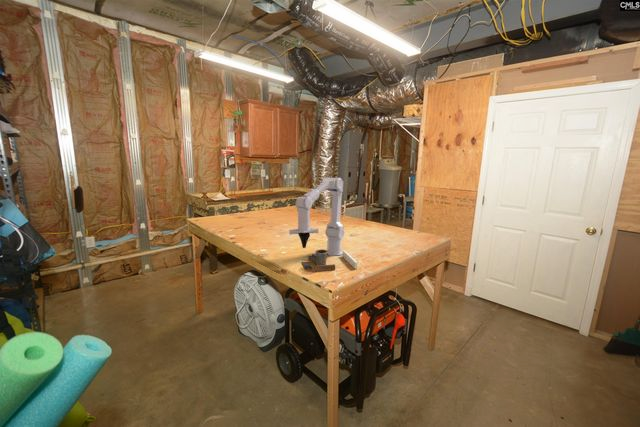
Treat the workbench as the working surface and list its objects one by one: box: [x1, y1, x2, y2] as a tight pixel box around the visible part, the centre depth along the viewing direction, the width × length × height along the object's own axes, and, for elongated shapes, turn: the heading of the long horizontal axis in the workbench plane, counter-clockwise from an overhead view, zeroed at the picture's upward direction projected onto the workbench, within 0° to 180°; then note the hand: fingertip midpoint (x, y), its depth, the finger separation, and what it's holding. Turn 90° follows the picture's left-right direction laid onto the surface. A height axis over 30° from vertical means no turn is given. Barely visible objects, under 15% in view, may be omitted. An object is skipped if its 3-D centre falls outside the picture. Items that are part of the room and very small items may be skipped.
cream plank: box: [342, 249, 358, 270], centre depth 149 cm, size 20×1×4 cm, turn 14°
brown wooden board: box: [308, 254, 336, 272], centre depth 146 cm, size 17×10×2 cm, turn 14°
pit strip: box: [301, 261, 313, 271], centre depth 144 cm, size 10×4×1 cm, turn 14°
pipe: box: [310, 249, 328, 266], centre depth 145 cm, size 6×13×8 cm, turn 32°
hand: (303, 247), depth 142 cm, fingers closed
